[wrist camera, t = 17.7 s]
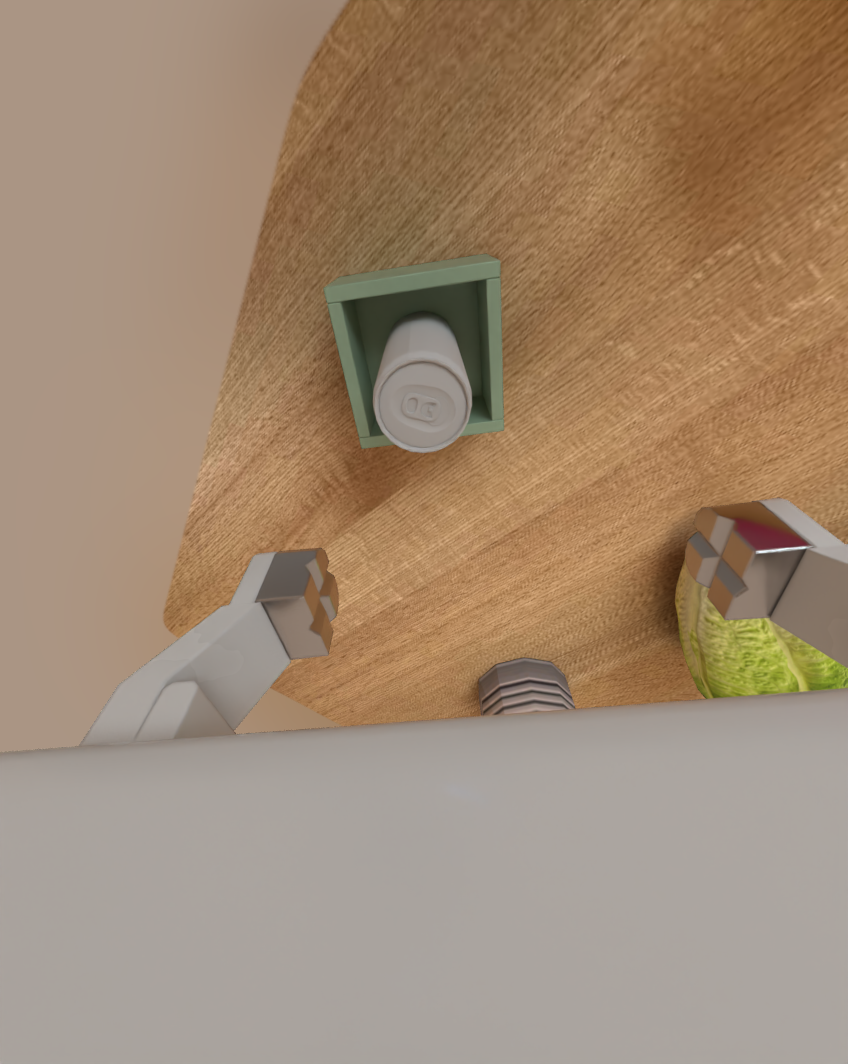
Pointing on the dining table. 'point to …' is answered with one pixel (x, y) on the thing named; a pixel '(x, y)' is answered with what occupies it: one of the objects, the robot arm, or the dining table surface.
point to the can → (523, 688)
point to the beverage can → (422, 385)
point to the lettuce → (746, 651)
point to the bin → (388, 295)
